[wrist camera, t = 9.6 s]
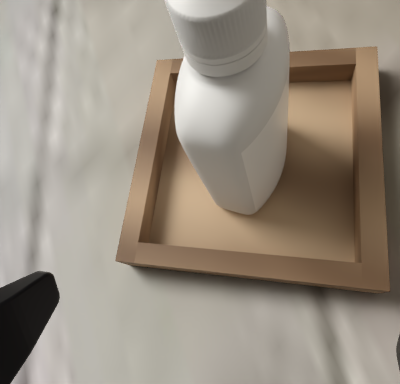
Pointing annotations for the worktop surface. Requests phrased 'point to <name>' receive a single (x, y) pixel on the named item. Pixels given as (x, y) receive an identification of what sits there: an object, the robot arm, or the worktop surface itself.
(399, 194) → the worktop surface
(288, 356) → the worktop surface
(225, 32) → the eye dropper bottle
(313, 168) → the shallow wooden tray
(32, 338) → the robot arm
